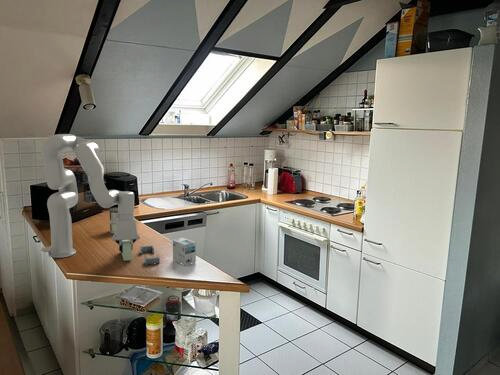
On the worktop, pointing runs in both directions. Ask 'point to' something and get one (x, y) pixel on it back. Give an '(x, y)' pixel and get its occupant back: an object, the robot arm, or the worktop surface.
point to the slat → (126, 250)
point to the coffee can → (113, 219)
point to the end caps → (149, 260)
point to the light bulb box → (184, 251)
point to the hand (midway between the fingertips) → (125, 251)
